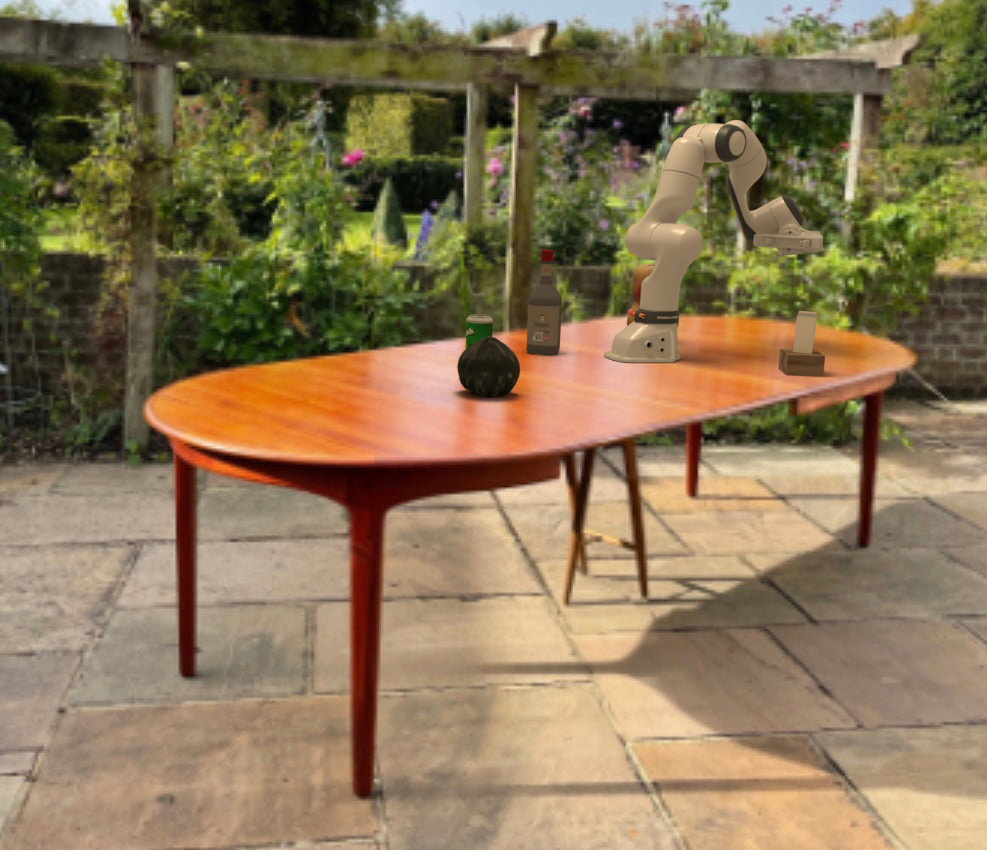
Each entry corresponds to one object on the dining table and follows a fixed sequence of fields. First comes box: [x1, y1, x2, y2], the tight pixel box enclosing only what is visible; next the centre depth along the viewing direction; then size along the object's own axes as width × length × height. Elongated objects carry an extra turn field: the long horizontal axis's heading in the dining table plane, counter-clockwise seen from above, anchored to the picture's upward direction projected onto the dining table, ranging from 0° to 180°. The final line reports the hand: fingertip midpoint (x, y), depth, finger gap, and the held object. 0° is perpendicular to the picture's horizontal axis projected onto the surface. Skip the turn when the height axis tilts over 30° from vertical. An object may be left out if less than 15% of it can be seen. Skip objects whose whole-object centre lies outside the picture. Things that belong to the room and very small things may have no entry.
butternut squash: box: [626, 262, 656, 327], centre depth 346 cm, size 14×13×25 cm
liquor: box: [525, 249, 563, 356], centre depth 319 cm, size 9×9×30 cm
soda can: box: [465, 313, 494, 349], centre depth 309 cm, size 8×8×12 cm
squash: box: [456, 336, 521, 398], centre depth 260 cm, size 14×15×15 cm
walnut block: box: [777, 348, 826, 378], centre depth 303 cm, size 10×10×6 cm
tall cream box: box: [793, 310, 818, 354], centre depth 302 cm, size 5×5×11 cm
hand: (785, 242), depth 321 cm, fingers open, 8 cm apart
